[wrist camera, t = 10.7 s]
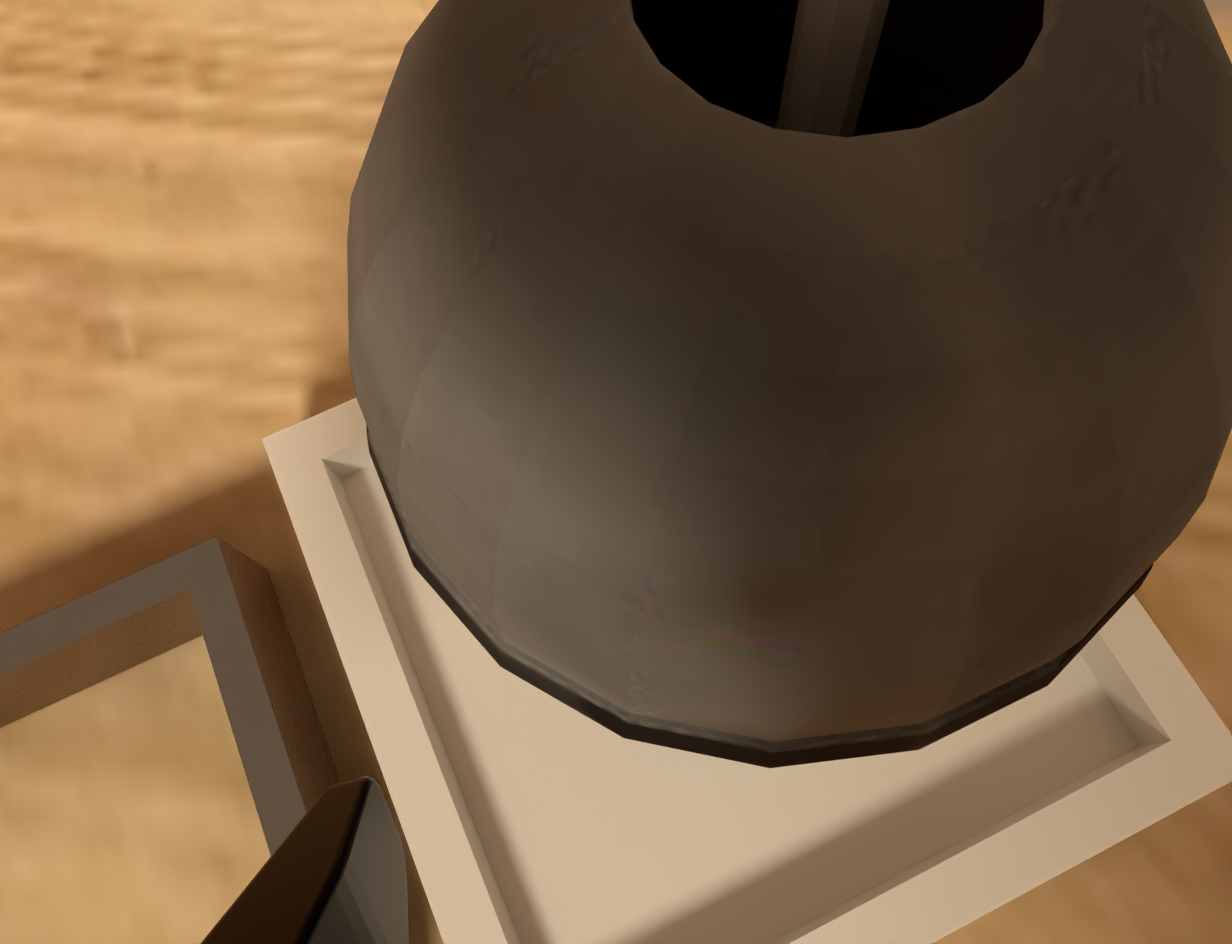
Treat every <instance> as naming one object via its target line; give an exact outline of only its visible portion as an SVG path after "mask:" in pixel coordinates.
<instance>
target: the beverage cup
mask: <svg viewBox="0 0 1232 944" xmlns="http://www.w3.org/2000/svg"><path fill="white" fill-rule="evenodd" d="M347 255H348V320H349V363H350V368H351V373H352V378H353V383H354V388H355V393H356V397H357V401H358V404H359V406H360V409H361V411H362V414H363V416H364V419H365V421H366V429H367V440H368V447H369V453H370V456H371V459H372V461H373V464H374V466H375V469H376V471H377V474H378V477H379V479H380V482H381V484H382V487H383V489H384V492H385V495H386V497H387V500H388V502H389V505H390V507H391V510H392V513H393V515H394V518H395V520H396V523H397V525H398V528H399V531H400V533H401V536H402V538H403V541H404V543H405V546H406V549H407V551H408V554H409V556H410V559H411V561H412V564H413V567H414V568H415V569H416V570H417V571H418V572H419V573H420V575H421V576H422V577H423V578H424V579H425V580H426V582H427V583H428V584H429V585H430V586H431V587H432V588H433V590H434V591H435V592H436V593H437V594H438V595H439V597H440V598H441V599H442V600H443V601H444V602H445V603H446V605H447V606H448V607H449V608H450V609H451V610H452V612H453V613H454V614H455V615H456V616H457V617H458V618H459V620H460V621H461V622H462V623H463V624H464V625H465V627H466V628H467V629H468V630H469V631H470V632H471V633H472V635H473V636H474V637H475V638H476V639H477V640H478V642H479V643H480V644H481V645H482V646H483V647H484V648H485V650H486V651H487V652H488V653H489V654H490V655H491V657H492V658H493V659H494V660H495V661H496V662H497V663H498V665H499V666H500V667H502V668H503V669H505V670H507V671H509V672H510V673H512V674H514V675H516V676H517V677H519V678H521V679H522V680H524V681H526V682H528V683H529V684H531V685H533V686H534V687H536V688H538V689H540V690H541V691H543V692H545V693H547V694H548V695H550V696H552V697H553V698H555V699H557V700H559V701H560V702H562V703H564V704H566V705H567V706H569V707H571V708H572V709H574V710H576V711H578V712H579V713H581V714H583V715H584V716H586V717H588V718H590V719H591V720H593V721H595V722H597V723H598V724H600V725H602V726H603V727H605V728H607V729H609V730H610V731H612V732H614V733H616V734H617V735H619V736H621V737H622V738H625V739H630V740H635V741H640V742H644V743H649V744H654V745H659V746H664V747H669V748H674V749H679V750H683V751H688V752H693V753H698V754H703V755H708V756H713V757H717V758H722V759H727V760H732V761H737V762H742V763H747V764H752V765H756V766H761V767H766V768H776V767H785V766H793V765H801V764H809V763H817V762H825V761H833V760H841V759H850V758H858V757H866V756H874V755H882V754H890V753H898V752H906V751H915V750H920V749H922V748H924V747H926V746H928V745H930V744H932V743H934V742H936V741H938V740H940V739H942V738H944V737H946V736H948V735H950V734H952V733H954V732H956V731H958V730H960V729H962V728H964V727H966V726H968V725H970V724H972V723H974V722H976V721H978V720H980V719H982V718H984V717H986V716H988V715H990V714H992V713H994V712H996V711H998V710H1000V709H1002V708H1004V707H1006V706H1008V705H1010V704H1012V703H1014V702H1016V701H1018V700H1020V699H1022V698H1024V697H1026V696H1028V695H1030V694H1032V693H1034V692H1036V691H1038V690H1040V689H1043V688H1045V687H1047V686H1048V685H1049V684H1050V683H1051V682H1052V681H1053V680H1054V679H1055V678H1056V677H1057V676H1058V674H1059V673H1060V672H1061V671H1062V670H1063V669H1064V668H1065V667H1066V666H1067V665H1068V664H1069V663H1070V662H1071V660H1072V659H1073V658H1074V657H1075V656H1076V655H1077V654H1078V653H1079V652H1080V651H1081V650H1082V649H1083V648H1084V647H1085V645H1086V644H1087V643H1088V642H1089V641H1090V640H1091V639H1092V638H1093V637H1094V636H1095V635H1096V634H1097V633H1098V631H1099V630H1100V629H1101V628H1102V627H1103V626H1104V625H1105V624H1106V623H1107V622H1108V621H1109V620H1110V619H1111V618H1112V616H1113V615H1114V614H1115V613H1116V612H1117V611H1118V610H1119V609H1120V608H1121V607H1122V606H1123V605H1124V604H1125V602H1126V601H1127V600H1128V599H1129V598H1130V597H1131V596H1132V595H1133V594H1134V593H1135V592H1136V591H1137V590H1138V589H1139V587H1140V586H1141V585H1142V583H1143V581H1144V580H1145V578H1146V576H1147V575H1148V573H1149V572H1150V570H1151V568H1152V566H1153V563H1154V562H1155V561H1156V560H1157V559H1158V558H1159V556H1160V555H1161V554H1162V553H1163V552H1164V551H1165V550H1166V549H1167V548H1168V547H1169V546H1170V545H1171V544H1172V543H1173V541H1174V540H1175V539H1176V538H1177V537H1178V536H1179V535H1180V533H1181V532H1182V530H1183V529H1184V528H1185V526H1186V525H1187V523H1188V522H1189V521H1190V519H1191V518H1192V516H1193V515H1194V514H1195V512H1196V511H1197V509H1198V508H1199V507H1200V505H1201V504H1202V502H1203V501H1204V499H1205V497H1206V494H1207V491H1208V489H1209V486H1210V483H1211V481H1212V478H1213V476H1214V473H1215V470H1216V468H1217V465H1218V462H1219V460H1220V457H1221V455H1222V452H1223V449H1224V447H1225V444H1226V441H1227V439H1228V436H1229V434H1230V431H1231V428H1232V64H1231V61H1230V59H1229V57H1228V55H1227V52H1226V50H1225V48H1224V46H1223V43H1222V41H1221V39H1220V37H1219V34H1218V32H1217V30H1216V28H1215V25H1214V23H1213V21H1212V19H1211V16H1210V14H1209V12H1208V10H1207V7H1206V5H1205V3H1204V1H1203V0H439V1H438V2H437V4H436V5H435V6H434V8H433V9H432V10H431V12H430V13H429V14H428V16H427V17H426V18H425V20H424V21H423V23H422V24H421V25H420V27H419V28H418V29H417V31H416V32H415V33H414V35H413V36H412V37H411V39H410V40H409V41H408V43H407V44H406V46H405V48H404V51H403V54H402V56H401V59H400V62H399V64H398V67H397V70H396V72H395V75H394V78H393V80H392V83H391V86H390V88H389V91H388V94H387V97H386V100H385V102H384V105H383V108H382V111H381V114H380V117H379V119H378V122H377V125H376V128H375V131H374V134H373V136H372V139H371V142H370V145H369V148H368V150H367V153H366V156H365V159H364V162H363V165H362V167H361V170H360V173H359V176H358V179H357V182H356V184H355V187H354V190H353V193H352V196H351V204H350V216H349V227H348V239H347Z"/></svg>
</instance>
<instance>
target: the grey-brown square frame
mask: <svg viewBox="0 0 1232 944" xmlns="http://www.w3.org/2000/svg"><path fill="white" fill-rule="evenodd" d="M201 635H203V637H204V640H205V643H206V646H207V650H208V653H209V656H210V659H211V663H212V666H213V669H214V672H215V676H216V679H217V682H218V685H219V689H220V692H221V695H222V698H223V702H224V705H225V708H226V711H227V715H228V718H229V721H230V724H231V728H232V731H233V734H234V737H235V741H236V744H237V747H238V750H239V754H240V757H241V760H242V763H243V766H244V770H245V773H246V776H247V779H248V783H249V786H250V789H251V792H252V796H253V799H254V802H255V805H256V809H257V812H258V815H259V818H260V822H261V825H262V828H263V831H264V835H265V838H266V841H267V844H268V848H269V851H270V854H271V856H272V855H273V854H274V852H275V851H276V850H277V849H278V847H279V846H280V845H281V844H282V843H283V841H284V840H285V839H286V838H287V836H288V835H289V834H290V833H291V831H292V830H293V829H294V828H295V826H296V825H297V824H298V823H299V822H300V820H301V819H302V818H303V817H304V815H305V814H306V813H307V812H308V810H309V809H310V808H311V807H312V805H313V804H314V803H315V802H316V801H317V799H318V798H319V797H320V796H321V794H322V793H323V792H324V791H325V790H326V789H327V788H328V787H329V786H331V785H334V784H337V783H340V781H339V778H338V775H337V773H336V770H335V767H334V764H333V761H332V758H331V755H330V752H329V749H328V746H327V743H326V740H325V738H324V735H323V732H322V729H321V726H320V723H319V720H318V717H317V714H316V711H315V708H314V705H313V703H312V700H311V697H310V694H309V691H308V688H307V685H306V682H305V679H304V676H303V673H302V671H301V668H300V665H299V662H298V659H297V656H296V653H295V650H294V647H293V644H292V641H291V638H290V636H289V633H288V630H287V627H286V624H285V621H284V618H283V615H282V612H281V609H280V606H279V603H278V601H277V598H276V595H275V592H274V589H273V586H272V583H271V580H270V577H269V574H268V571H267V569H266V568H264V567H263V566H261V565H260V564H258V563H257V562H255V561H254V560H252V559H251V558H249V557H247V556H246V555H244V554H243V553H241V552H240V551H238V550H237V549H235V548H233V547H232V546H230V545H229V544H227V543H226V542H224V541H223V540H221V539H219V538H218V537H214V538H211V539H209V540H207V541H205V542H203V543H200V544H198V545H196V546H194V547H191V548H189V549H187V550H185V551H182V552H180V553H178V554H176V555H174V556H171V557H169V558H167V559H165V560H162V561H160V562H158V563H156V564H153V565H151V566H149V567H147V568H145V569H142V570H140V571H138V572H136V573H133V574H131V575H129V576H127V577H124V578H122V579H120V580H118V581H116V582H113V583H111V584H109V585H107V586H104V587H102V588H100V589H98V590H95V591H93V592H91V593H89V594H87V595H84V596H82V597H80V598H78V599H75V600H73V601H71V602H69V603H66V604H64V605H62V606H60V607H58V608H55V609H53V610H51V611H49V612H46V613H44V614H42V615H40V616H37V617H35V618H33V619H31V620H29V621H26V622H24V623H22V624H20V625H17V626H15V627H13V628H11V629H8V630H6V631H4V632H2V633H0V728H1V727H3V726H5V725H7V724H9V723H12V722H14V721H16V720H18V719H20V718H22V717H25V716H27V715H29V714H31V713H33V712H36V711H38V710H40V709H42V708H44V707H46V706H49V705H51V704H53V703H55V702H57V701H60V700H62V699H64V698H66V697H68V696H70V695H73V694H75V693H77V692H79V691H81V690H83V689H86V688H88V687H90V686H92V685H94V684H97V683H99V682H101V681H103V680H105V679H107V678H110V677H112V676H114V675H116V674H118V673H121V672H123V671H125V670H127V669H129V668H131V667H134V666H136V665H138V664H140V663H142V662H144V661H147V660H149V659H151V658H153V657H155V656H158V655H160V654H162V653H164V652H166V651H168V650H171V649H173V648H175V647H177V646H179V645H182V644H184V643H186V642H188V641H190V640H192V639H195V638H197V637H199V636H201Z"/></svg>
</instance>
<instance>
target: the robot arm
mask: <svg viewBox="0 0 1232 944" xmlns="http://www.w3.org/2000/svg"><path fill="white" fill-rule="evenodd" d="M201 944H409V930H408V902H407V874H406V859H405V852H404V847H403V844H402V840H401V837H400V835H399V832H398V830H397V827H396V825H395V823H394V820H393V818H392V815H391V813H390V811H389V808H388V806H387V803H386V801H385V798H384V796H383V794H382V791H381V789H380V787H379V785H378V783H377V782H376V781H375V779H374V778H372V777H369V776H363V777H359V778H355V779H352V780H348V781H344V782H340V783H337V784H334V785H331V786H329V787H328V788H327V789H326V790H325V791H324V792H323V793H322V794H321V796H320V797H319V798H318V799H317V801H316V802H315V803H314V804H313V805H312V807H311V808H310V809H309V810H308V812H307V813H306V814H305V815H304V817H303V818H302V819H301V820H300V822H299V823H298V824H297V825H296V826H295V828H294V829H293V830H292V831H291V833H290V834H289V835H288V836H287V838H286V839H285V840H284V841H283V843H282V844H281V845H280V846H279V847H278V849H277V850H276V851H275V852H274V854H273V855H272V856H271V857H270V859H269V860H268V861H267V862H266V864H265V865H264V866H263V867H262V868H261V870H260V871H259V872H258V873H257V875H256V876H255V877H254V878H253V880H252V881H251V882H250V883H249V885H248V886H247V887H246V888H245V890H244V891H243V892H242V893H241V894H240V896H239V897H238V898H237V899H236V901H235V902H234V903H233V904H232V906H231V907H230V908H229V909H228V911H227V912H226V913H225V914H224V915H223V917H222V918H221V919H220V920H219V922H218V923H217V924H216V925H215V927H214V928H213V929H212V930H211V932H210V933H209V934H208V935H207V936H206V938H205V939H204V940H203V941H202V943H201Z"/></svg>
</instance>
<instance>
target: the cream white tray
mask: <svg viewBox="0 0 1232 944" xmlns="http://www.w3.org/2000/svg"><path fill="white" fill-rule="evenodd" d="M262 441H263V444H264V446H265V449H266V452H267V455H268V457H269V460H270V463H271V466H272V469H273V471H274V474H275V477H276V480H277V482H278V485H279V488H280V491H281V493H282V496H283V499H284V502H285V505H286V507H287V510H288V513H289V516H290V518H291V521H292V524H293V527H294V530H295V532H296V535H297V538H298V541H299V543H300V546H301V549H302V552H303V555H304V557H305V560H306V563H307V566H308V568H309V571H310V574H311V577H312V579H313V582H314V585H315V588H316V591H317V593H318V596H319V599H320V602H321V604H322V607H323V610H324V613H325V616H326V618H327V621H328V624H329V627H330V629H331V632H332V635H333V638H334V640H335V643H336V646H337V649H338V652H339V654H340V657H341V660H342V663H343V665H344V668H345V671H346V674H347V677H348V679H349V682H350V685H351V688H352V690H353V693H354V696H355V699H356V701H357V704H358V707H359V710H360V713H361V715H362V718H363V721H364V724H365V726H366V729H367V732H368V735H369V738H370V740H371V743H372V746H373V749H374V751H375V754H376V757H377V760H378V762H379V765H380V768H381V771H382V774H383V776H384V779H385V782H386V785H387V787H388V790H389V793H390V796H391V799H392V801H393V804H394V807H395V810H396V812H397V815H398V818H399V821H400V824H401V826H402V829H403V832H404V835H405V837H406V840H407V843H408V846H409V848H410V851H411V854H412V857H413V860H414V862H415V865H416V868H417V871H418V873H419V876H420V879H421V882H422V885H423V887H424V890H425V893H426V896H427V898H428V901H429V904H430V907H431V909H432V912H433V915H434V918H435V921H436V923H437V926H438V929H439V932H440V934H441V937H442V940H443V943H444V944H932V943H934V942H935V941H937V940H939V939H941V938H943V937H945V936H947V935H948V934H950V933H952V932H954V931H956V930H958V929H960V928H961V927H963V926H965V925H967V924H969V923H971V922H972V921H974V920H976V919H978V918H980V917H982V916H984V915H985V914H987V913H989V912H991V911H993V910H995V909H996V908H998V907H1000V906H1002V905H1004V904H1006V903H1008V902H1009V901H1011V900H1013V899H1015V898H1017V897H1019V896H1021V895H1022V894H1024V893H1026V892H1028V891H1030V890H1032V889H1033V888H1035V887H1037V886H1039V885H1041V884H1043V883H1045V882H1046V881H1048V880H1050V879H1052V878H1054V877H1056V876H1058V875H1059V874H1061V873H1063V872H1065V871H1067V870H1069V869H1070V868H1072V867H1074V866H1076V865H1078V864H1080V863H1082V862H1083V861H1085V860H1087V859H1089V858H1091V857H1093V856H1094V855H1096V854H1098V853H1100V852H1102V851H1104V850H1106V849H1107V848H1109V847H1111V846H1113V845H1115V844H1117V843H1119V842H1120V841H1122V840H1124V839H1126V838H1128V837H1130V836H1131V835H1133V834H1135V833H1137V832H1139V831H1141V830H1143V829H1144V828H1146V827H1148V826H1150V825H1152V824H1154V823H1156V822H1157V821H1159V820H1161V819H1163V818H1165V817H1167V816H1168V815H1170V814H1172V813H1174V812H1176V811H1178V810H1180V809H1181V808H1183V807H1185V806H1187V805H1189V804H1191V803H1192V802H1194V801H1196V800H1198V799H1200V798H1202V797H1204V796H1205V795H1207V794H1209V793H1211V792H1213V791H1215V790H1217V789H1218V788H1220V787H1222V786H1224V785H1226V784H1228V783H1229V782H1231V781H1232V734H1231V733H1230V731H1229V730H1228V728H1227V727H1226V725H1225V724H1224V723H1223V721H1222V720H1221V718H1220V717H1219V715H1218V714H1217V712H1216V711H1215V710H1214V708H1213V707H1212V705H1211V704H1210V702H1209V701H1208V700H1207V698H1206V697H1205V695H1204V694H1203V692H1202V691H1201V690H1200V688H1199V687H1198V685H1197V684H1196V682H1195V681H1194V680H1193V678H1192V677H1191V675H1190V674H1189V672H1188V671H1187V670H1186V668H1185V667H1184V665H1183V664H1182V662H1181V661H1180V659H1179V658H1178V657H1177V655H1176V654H1175V652H1174V651H1173V649H1172V648H1171V647H1170V645H1169V644H1168V642H1167V641H1166V639H1165V638H1164V637H1163V635H1162V634H1161V632H1160V631H1159V629H1158V628H1157V627H1156V625H1155V624H1154V622H1153V621H1152V619H1151V618H1150V617H1149V615H1148V614H1147V612H1146V611H1145V609H1144V608H1143V606H1142V605H1141V604H1140V602H1139V601H1138V599H1137V598H1136V596H1135V595H1134V594H1133V595H1132V596H1131V597H1130V598H1129V599H1128V600H1127V601H1126V602H1125V604H1124V605H1123V606H1122V607H1121V608H1120V609H1119V610H1118V611H1117V612H1116V613H1115V614H1114V615H1113V616H1112V618H1111V619H1110V620H1109V621H1108V622H1107V623H1106V624H1105V625H1104V626H1103V627H1102V628H1101V629H1100V630H1099V631H1098V633H1097V634H1096V635H1095V636H1094V637H1093V638H1092V639H1091V640H1090V641H1089V642H1088V643H1087V644H1086V645H1085V647H1084V648H1083V649H1082V650H1081V651H1080V652H1079V653H1078V654H1077V655H1076V656H1075V657H1074V658H1073V659H1072V660H1071V662H1070V663H1069V664H1068V665H1067V666H1066V667H1065V668H1064V669H1063V670H1062V671H1061V672H1060V673H1059V674H1058V676H1057V677H1056V678H1055V679H1054V680H1053V681H1052V682H1051V683H1050V684H1049V685H1048V686H1047V687H1045V688H1043V689H1040V690H1038V691H1036V692H1034V693H1032V694H1030V695H1028V696H1026V697H1024V698H1022V699H1020V700H1018V701H1016V702H1014V703H1012V704H1010V705H1008V706H1006V707H1004V708H1002V709H1000V710H998V711H996V712H994V713H992V714H990V715H988V716H986V717H984V718H982V719H980V720H978V721H976V722H974V723H972V724H970V725H968V726H966V727H964V728H962V729H960V730H958V731H956V732H954V733H952V734H950V735H948V736H946V737H944V738H942V739H940V740H938V741H936V742H934V743H932V744H930V745H928V746H926V747H924V748H922V749H920V750H915V751H906V752H898V753H890V754H882V755H874V756H866V757H858V758H850V759H841V760H833V761H825V762H817V763H809V764H801V765H793V766H785V767H776V768H766V767H761V766H756V765H752V764H747V763H742V762H737V761H732V760H727V759H722V758H717V757H713V756H708V755H703V754H698V753H693V752H688V751H683V750H679V749H674V748H669V747H664V746H659V745H654V744H649V743H644V742H640V741H635V740H630V739H625V738H622V737H621V736H619V735H617V734H616V733H614V732H612V731H610V730H609V729H607V728H605V727H603V726H602V725H600V724H598V723H597V722H595V721H593V720H591V719H590V718H588V717H586V716H584V715H583V714H581V713H579V712H578V711H576V710H574V709H572V708H571V707H569V706H567V705H566V704H564V703H562V702H560V701H559V700H557V699H555V698H553V697H552V696H550V695H548V694H547V693H545V692H543V691H541V690H540V689H538V688H536V687H534V686H533V685H531V684H529V683H528V682H526V681H524V680H522V679H521V678H519V677H517V676H516V675H514V674H512V673H510V672H509V671H507V670H505V669H503V668H502V667H500V666H499V665H498V663H497V662H496V661H495V660H494V659H493V658H492V657H491V655H490V654H489V653H488V652H487V651H486V650H485V648H484V647H483V646H482V645H481V644H480V643H479V642H478V640H477V639H476V638H475V637H474V636H473V635H472V633H471V632H470V631H469V630H468V629H467V628H466V627H465V625H464V624H463V623H462V622H461V621H460V620H459V618H458V617H457V616H456V615H455V614H454V613H453V612H452V610H451V609H450V608H449V607H448V606H447V605H446V603H445V602H444V601H443V600H442V599H441V598H440V597H439V595H438V594H437V593H436V592H435V591H434V590H433V588H432V587H431V586H430V585H429V584H428V583H427V582H426V580H425V579H424V578H423V577H422V576H421V575H420V573H419V572H418V571H417V570H416V569H415V568H414V567H413V564H412V561H411V559H410V556H409V554H408V551H407V549H406V546H405V543H404V541H403V538H402V536H401V533H400V531H399V528H398V525H397V523H396V520H395V518H394V515H393V513H392V510H391V507H390V505H389V502H388V500H387V497H386V495H385V492H384V489H383V487H382V484H381V482H380V479H379V477H378V474H377V471H376V469H375V466H374V464H373V461H372V459H371V456H370V453H369V447H368V440H367V429H366V421H365V419H364V416H363V414H362V411H361V409H360V406H359V404H358V401H357V397H356V398H354V399H351V400H349V401H347V402H345V403H342V404H340V405H338V406H335V407H333V408H331V409H329V410H326V411H324V412H322V413H319V414H317V415H315V416H313V417H310V418H308V419H306V420H304V421H301V422H299V423H297V424H294V425H292V426H290V427H288V428H285V429H283V430H281V431H278V432H276V433H274V434H272V435H269V436H267V437H265V438H263V439H262Z"/></svg>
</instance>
